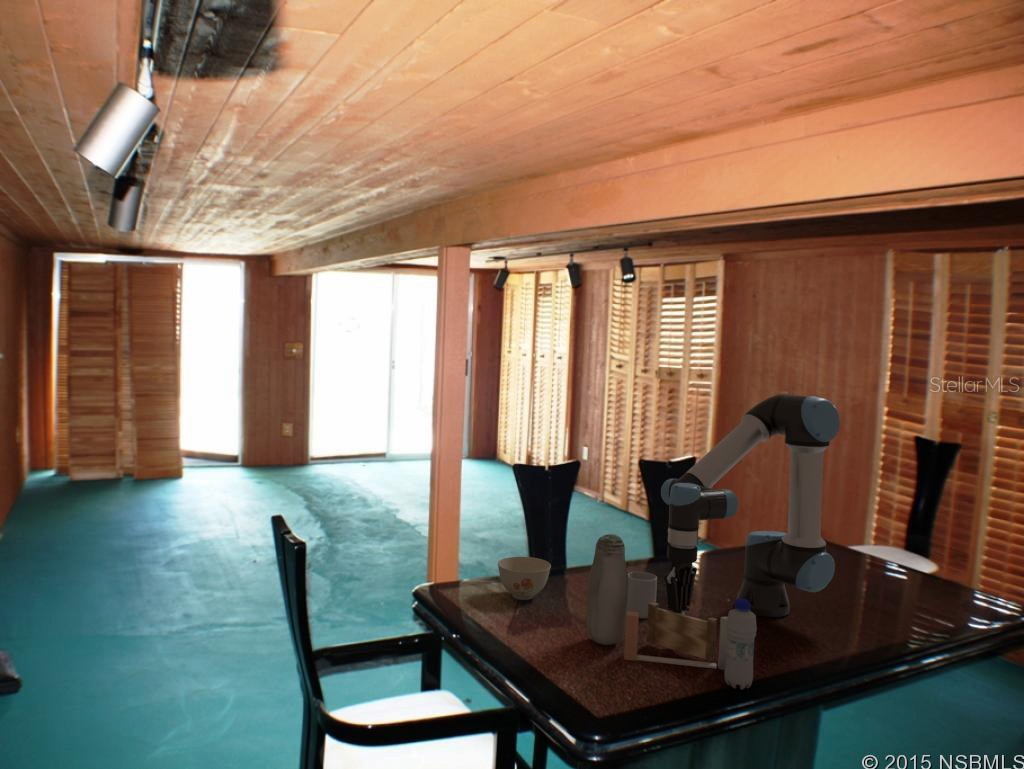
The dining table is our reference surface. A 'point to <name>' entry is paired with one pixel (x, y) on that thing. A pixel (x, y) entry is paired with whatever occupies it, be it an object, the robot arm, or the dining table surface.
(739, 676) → the bottle
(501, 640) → the dining table surface
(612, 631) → the white tapered flask
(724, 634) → the fence
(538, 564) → the bowl
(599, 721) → the dining table surface
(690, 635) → the gate
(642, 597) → the mug
